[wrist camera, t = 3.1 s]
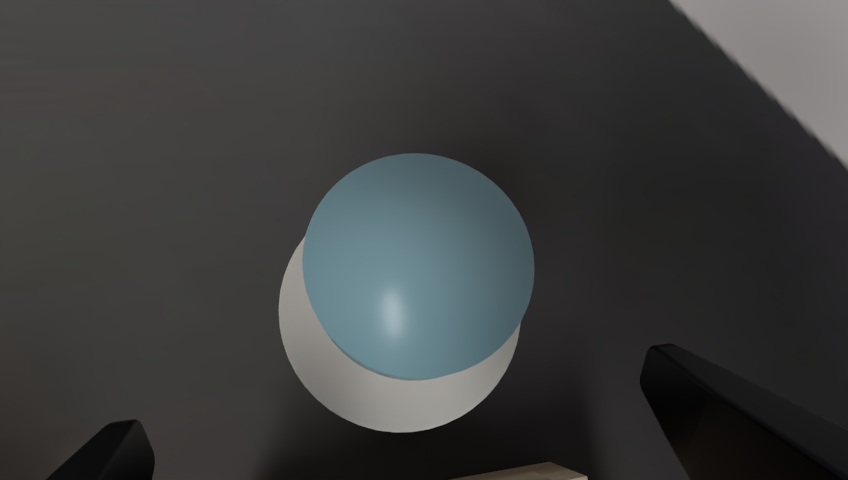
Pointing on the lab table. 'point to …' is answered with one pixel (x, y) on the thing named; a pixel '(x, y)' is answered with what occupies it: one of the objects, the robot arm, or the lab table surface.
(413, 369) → the reagent bottle
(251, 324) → the lab table surface
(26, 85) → the lab table surface
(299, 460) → the lab table surface
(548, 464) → the oak tray
